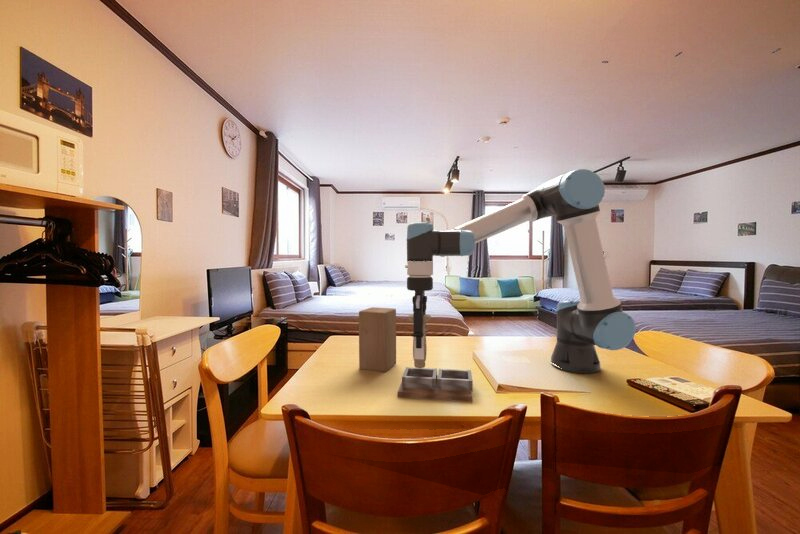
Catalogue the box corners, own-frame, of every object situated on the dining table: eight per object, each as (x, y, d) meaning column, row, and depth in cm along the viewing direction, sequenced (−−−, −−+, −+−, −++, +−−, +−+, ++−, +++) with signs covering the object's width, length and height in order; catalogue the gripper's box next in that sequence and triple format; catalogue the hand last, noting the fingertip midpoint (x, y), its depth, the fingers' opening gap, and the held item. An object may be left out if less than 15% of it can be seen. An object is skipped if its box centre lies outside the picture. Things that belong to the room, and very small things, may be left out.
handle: (431, 369, 93) (431, 317, 93) (409, 369, 93) (408, 317, 93) (429, 364, 98) (429, 314, 98) (408, 364, 98) (408, 314, 98)
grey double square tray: (470, 381, 100) (470, 367, 100) (473, 401, 86) (473, 384, 86) (405, 378, 103) (404, 364, 103) (397, 396, 90) (397, 380, 90)
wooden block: (358, 369, 112) (358, 311, 112) (371, 360, 122) (371, 307, 121) (385, 372, 109) (384, 312, 108) (396, 363, 118) (396, 308, 117)
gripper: (410, 274, 104) (410, 348, 104) (402, 278, 87) (402, 365, 88) (434, 274, 103) (434, 349, 103) (430, 278, 86) (430, 366, 86)
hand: (419, 356), depth 95 cm, fingers closed on handle, 4 cm apart
